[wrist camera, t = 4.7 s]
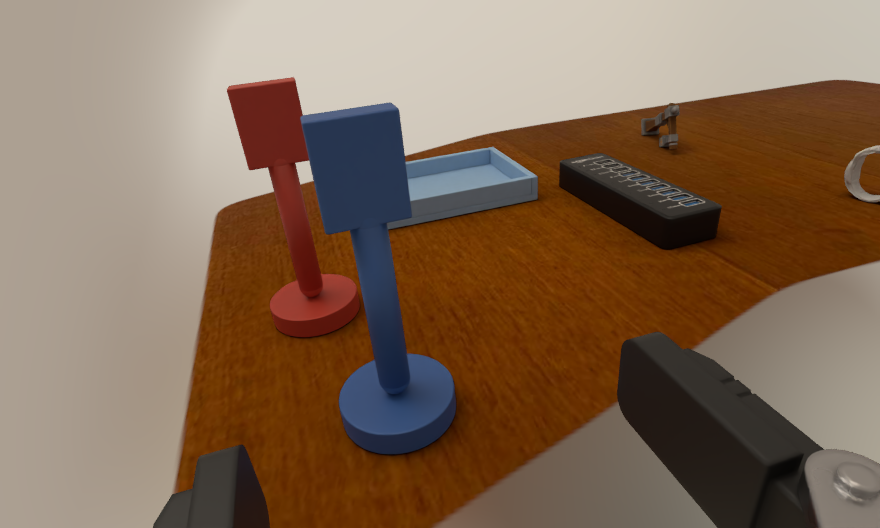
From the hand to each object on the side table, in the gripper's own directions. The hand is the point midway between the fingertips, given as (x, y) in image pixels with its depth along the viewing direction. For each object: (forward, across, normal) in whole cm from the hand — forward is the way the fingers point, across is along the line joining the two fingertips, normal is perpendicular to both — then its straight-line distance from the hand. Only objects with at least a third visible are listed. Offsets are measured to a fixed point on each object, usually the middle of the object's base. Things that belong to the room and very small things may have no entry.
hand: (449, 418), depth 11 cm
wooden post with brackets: (+38, -35, +9) cm, 53 cm away
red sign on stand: (+20, +3, +9) cm, 22 cm away
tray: (+35, -9, +9) cm, 37 cm away
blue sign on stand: (+10, 0, +9) cm, 14 cm away
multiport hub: (+25, -22, +9) cm, 35 cm away
